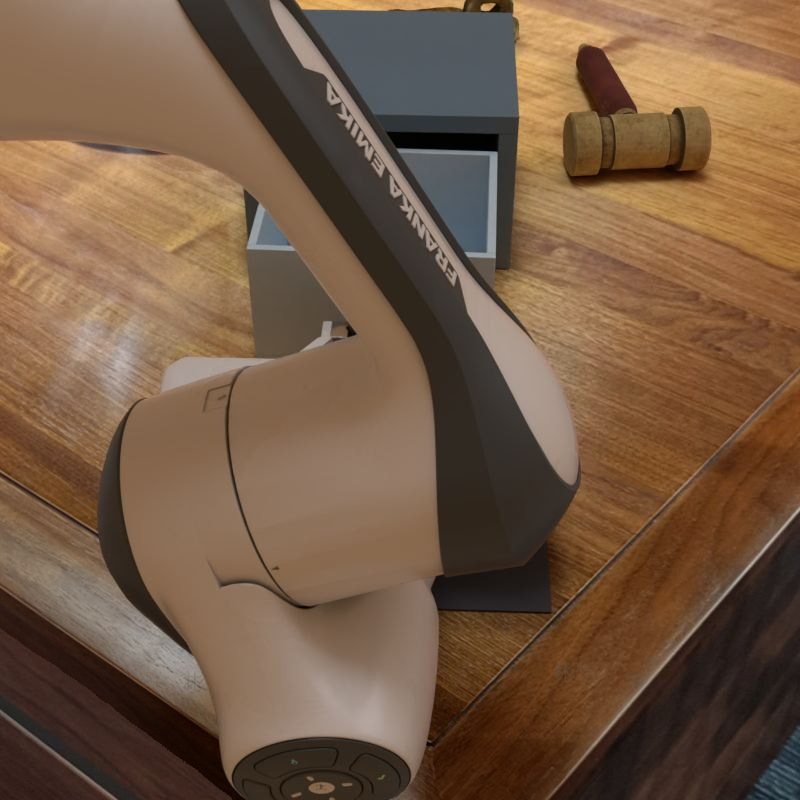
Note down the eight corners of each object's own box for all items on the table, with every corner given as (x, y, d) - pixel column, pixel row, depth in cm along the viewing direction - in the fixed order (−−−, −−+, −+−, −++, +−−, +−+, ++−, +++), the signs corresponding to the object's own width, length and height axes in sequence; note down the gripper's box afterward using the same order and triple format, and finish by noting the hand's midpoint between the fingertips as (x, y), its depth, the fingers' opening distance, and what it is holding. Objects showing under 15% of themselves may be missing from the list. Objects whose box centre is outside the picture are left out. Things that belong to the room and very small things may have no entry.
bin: (244, 424, 78) (231, 299, 72) (282, 261, 91) (274, 144, 85) (487, 434, 77) (494, 309, 71) (491, 268, 90) (497, 151, 84)
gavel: (525, 23, 112) (644, 18, 113) (523, 75, 115) (638, 70, 116) (577, 128, 95) (715, 121, 96) (572, 187, 98) (707, 180, 99)
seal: (359, 85, 113) (531, 66, 115) (359, 35, 110) (536, 16, 112) (338, 27, 119) (502, 10, 122) (337, -22, 116) (505, -38, 118)
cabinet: (249, 263, 91) (236, 111, 83) (274, 149, 103) (265, 8, 95) (509, 269, 90) (519, 116, 83) (504, 154, 102) (512, 12, 95)
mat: (187, 602, 67) (187, 601, 67) (221, 443, 76) (221, 441, 76) (551, 613, 67) (551, 611, 67) (541, 451, 76) (541, 450, 76)
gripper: (573, 459, 62) (557, 288, 73) (130, 448, 63) (179, 280, 73) (563, 556, 66) (549, 380, 77) (146, 545, 67) (190, 372, 77)
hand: (365, 331), depth 75 cm, fingers closed on bin
